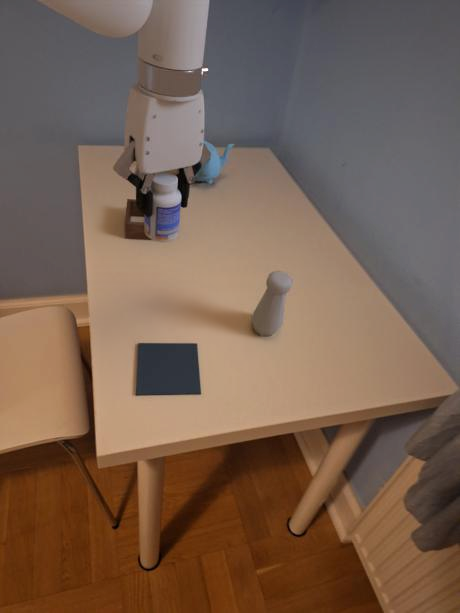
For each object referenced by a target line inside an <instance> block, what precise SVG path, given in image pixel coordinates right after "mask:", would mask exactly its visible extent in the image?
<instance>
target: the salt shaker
mask: <svg viewBox="0 0 460 613" xmlns="http://www.w3.org/2000/svg"><path fill="white" fill-rule="evenodd" d="M265 281H266V282H265V284H266V285H265V286H266V289H265V291H264V293H263V294H262V297H261V298H260V300H259V302H258V303H257V305H256V307H255V309H254V310H253V312H252V315H251V323H252V327H253V330H254V331H255V332H256V333H257V334H258V335H259V336H261V337H272V336H274V334H276V333H277V332H279V330H281V328H282V326H283V325H284V318H285V308H286V300H287V299H286V298H287V293H289V292H290V291H291V289H292V287H293V283H294V282H293V278H292V277H291V276H290V274H288V273H287V272H285V271H282V270H274V271H272V272H270V273H269V274H268V276H267V277H266V280H265Z"/></svg>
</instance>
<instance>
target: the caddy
mask: <svg viewBox="0 0 460 613" xmlns="http://www.w3.org/2000/svg"><path fill="white" fill-rule="evenodd" d="M132 217H140V218H141V217H142V218H144V213H143V212H142V211H141V210H139V209H138V208H137V206H136V198H135V199H133V198H127V199H126V207H125V216H124V239H125V240H143V241H153V240H152V239H150V238H149V237H148V236H147V235H146V234H145V231H144V221H141V222H140V221H132V220H131V218H132Z"/></svg>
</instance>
